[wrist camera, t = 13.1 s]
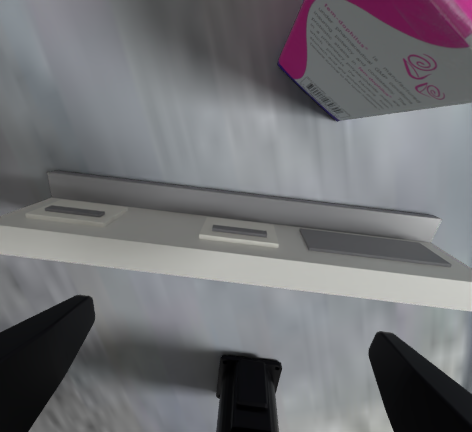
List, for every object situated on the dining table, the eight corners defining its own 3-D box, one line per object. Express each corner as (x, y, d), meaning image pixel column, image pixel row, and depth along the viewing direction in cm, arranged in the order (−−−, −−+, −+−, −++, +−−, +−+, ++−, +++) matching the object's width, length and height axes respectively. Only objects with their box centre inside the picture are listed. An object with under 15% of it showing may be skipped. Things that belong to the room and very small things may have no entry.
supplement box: (408, 42, 14) (891, -214, 4) (336, 123, 16) (511, 115, 5) (343, -33, 13) (753, -723, 2) (273, 64, 15) (336, -94, 4)
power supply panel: (405, 279, 20) (465, 336, 15) (67, 238, 20) (-2, 279, 15) (434, 215, 18) (517, 255, 12) (55, 170, 18) (-30, 189, 13)
